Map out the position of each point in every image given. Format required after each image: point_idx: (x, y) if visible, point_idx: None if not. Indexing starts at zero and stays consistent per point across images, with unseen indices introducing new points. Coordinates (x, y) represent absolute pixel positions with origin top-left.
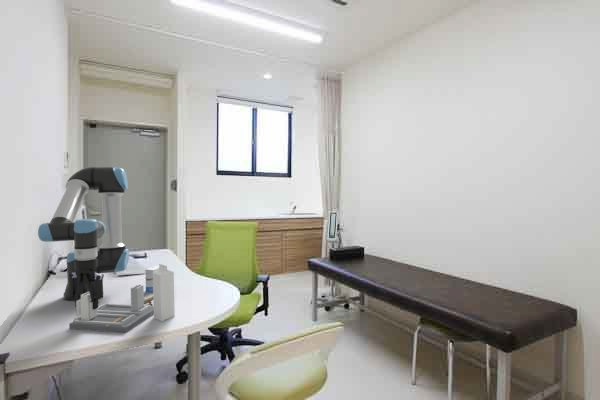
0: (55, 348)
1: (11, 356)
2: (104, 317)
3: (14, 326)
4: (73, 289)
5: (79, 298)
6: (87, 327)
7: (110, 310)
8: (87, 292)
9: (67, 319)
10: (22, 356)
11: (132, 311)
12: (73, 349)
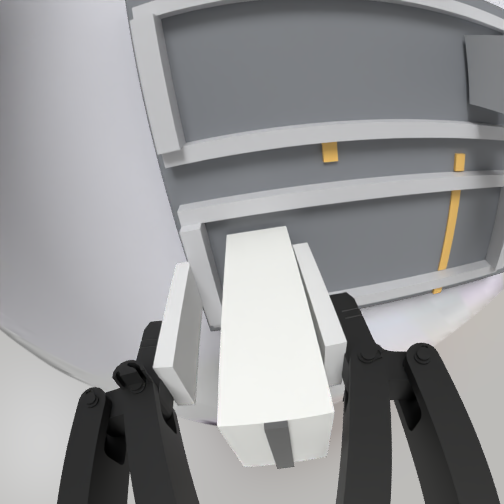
0: None
1: None
2: (352, 213)
3: (5, 330)
4: (123, 492)
5: (165, 395)
6: None
7: (283, 85)
8: (240, 441)
9: (68, 236)
10: None
11: (477, 105)
12: None
